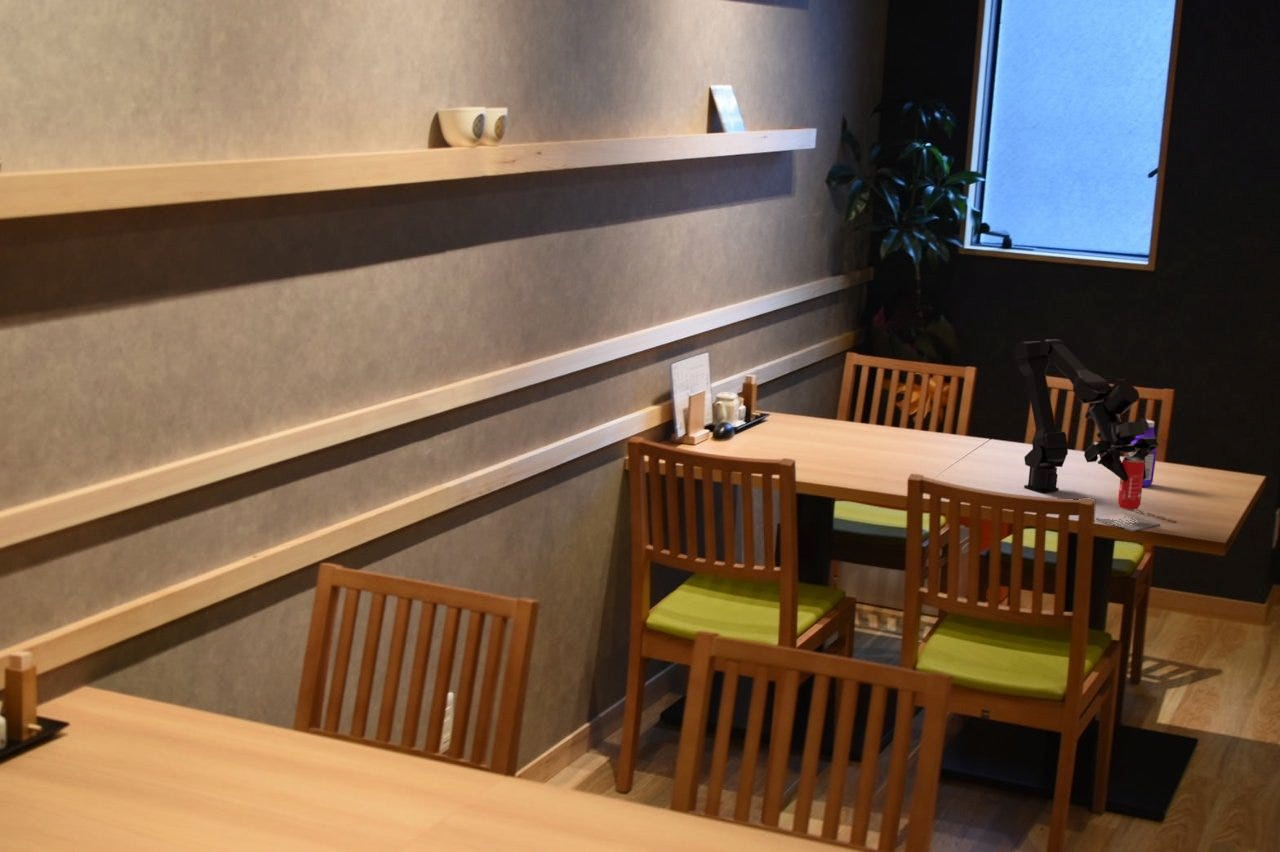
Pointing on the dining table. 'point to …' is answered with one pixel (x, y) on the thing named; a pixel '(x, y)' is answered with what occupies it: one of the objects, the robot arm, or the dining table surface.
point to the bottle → (1151, 457)
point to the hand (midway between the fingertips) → (1135, 479)
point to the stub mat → (1135, 526)
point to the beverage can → (1131, 483)
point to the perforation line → (1159, 517)
